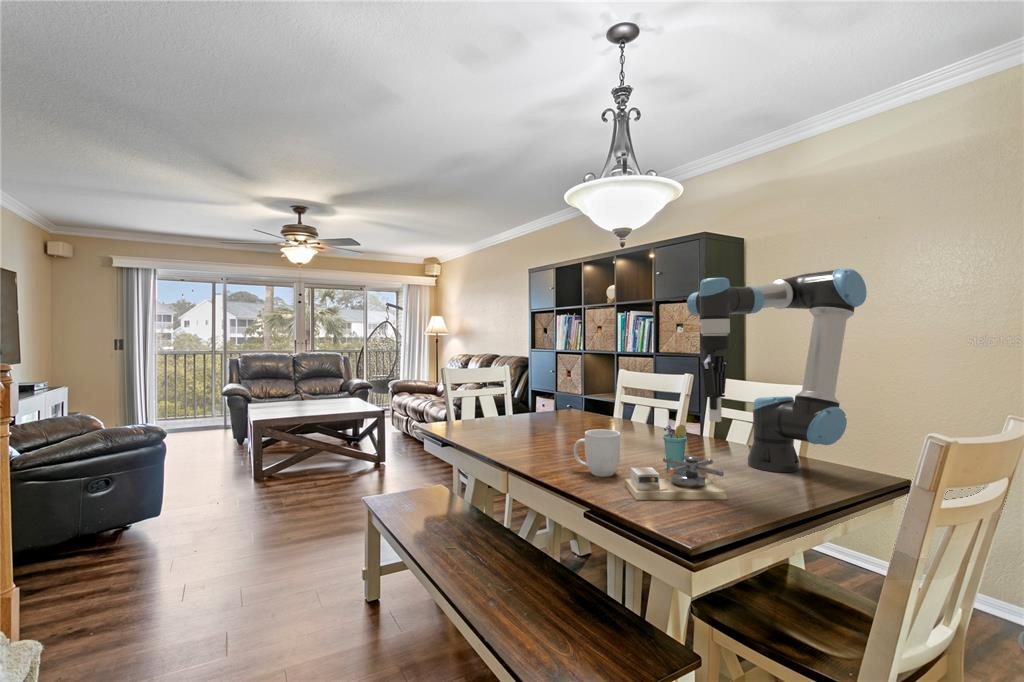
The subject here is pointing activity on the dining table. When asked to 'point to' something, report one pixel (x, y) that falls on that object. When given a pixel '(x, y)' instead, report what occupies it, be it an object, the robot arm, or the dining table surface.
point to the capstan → (690, 471)
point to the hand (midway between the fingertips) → (715, 421)
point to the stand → (667, 487)
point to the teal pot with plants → (675, 444)
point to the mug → (600, 451)
